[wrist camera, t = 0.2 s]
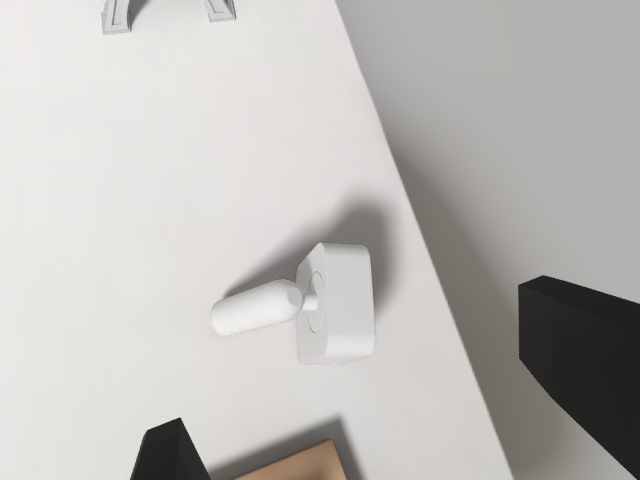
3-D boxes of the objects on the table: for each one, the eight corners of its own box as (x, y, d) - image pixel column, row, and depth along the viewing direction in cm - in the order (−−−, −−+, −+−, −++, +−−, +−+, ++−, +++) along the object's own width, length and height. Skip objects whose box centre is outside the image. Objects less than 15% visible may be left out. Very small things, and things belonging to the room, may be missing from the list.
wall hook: (210, 270, 41) (224, 229, 32) (327, 276, 44) (369, 239, 35) (206, 369, 38) (220, 355, 29) (331, 368, 41) (377, 354, 32)
